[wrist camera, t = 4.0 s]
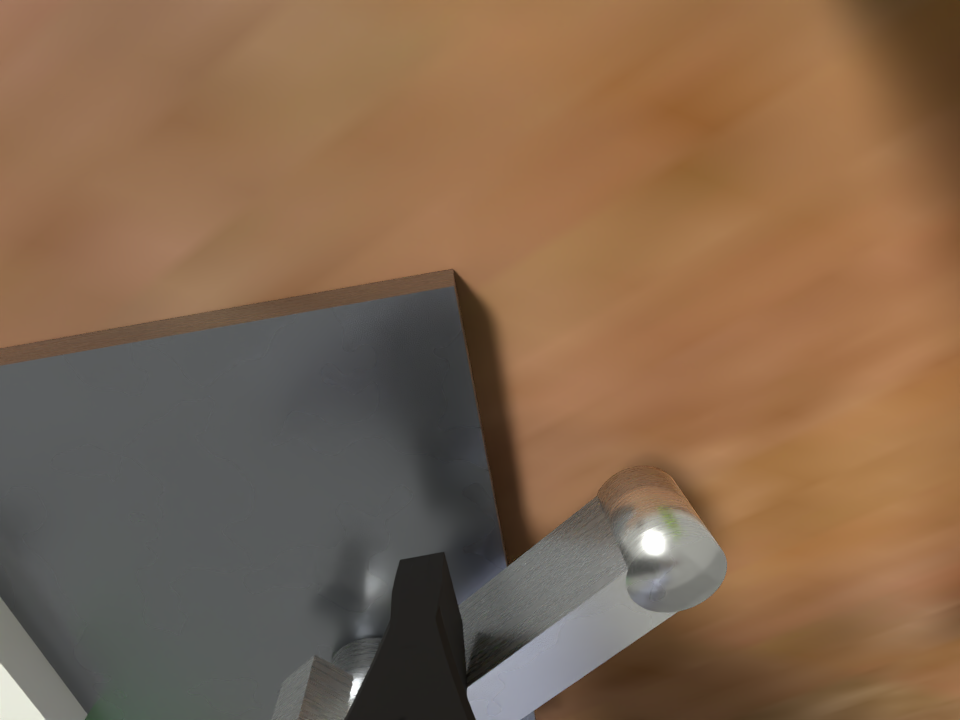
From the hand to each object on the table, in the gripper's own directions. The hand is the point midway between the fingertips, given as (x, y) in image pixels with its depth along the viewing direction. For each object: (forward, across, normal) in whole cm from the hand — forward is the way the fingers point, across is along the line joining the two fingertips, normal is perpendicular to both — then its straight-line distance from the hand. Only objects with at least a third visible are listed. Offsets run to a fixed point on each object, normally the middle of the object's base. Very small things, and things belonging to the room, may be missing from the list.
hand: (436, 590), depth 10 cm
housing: (+3, +9, +1) cm, 10 cm away
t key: (+2, -1, +2) cm, 3 cm away
